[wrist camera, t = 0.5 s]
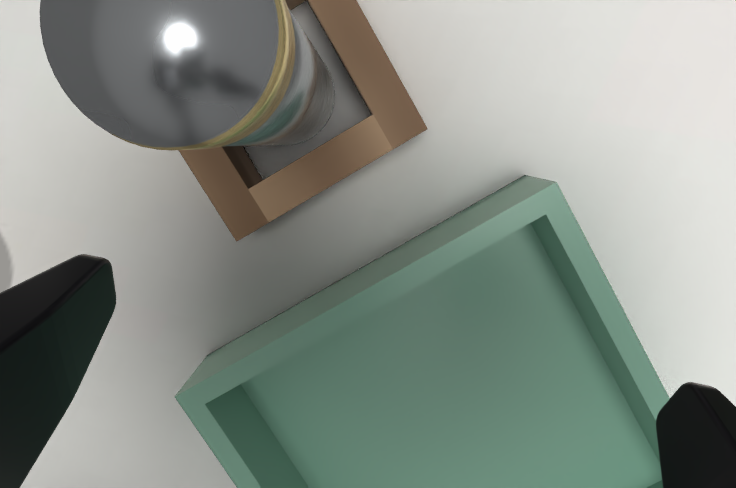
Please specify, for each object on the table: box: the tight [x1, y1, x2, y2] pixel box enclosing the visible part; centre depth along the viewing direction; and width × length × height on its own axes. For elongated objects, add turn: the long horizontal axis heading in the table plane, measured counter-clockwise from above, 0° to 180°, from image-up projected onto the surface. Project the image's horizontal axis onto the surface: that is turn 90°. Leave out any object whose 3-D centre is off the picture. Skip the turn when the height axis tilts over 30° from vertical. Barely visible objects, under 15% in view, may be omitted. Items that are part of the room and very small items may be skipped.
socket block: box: [179, 0, 427, 242], centre depth 21 cm, size 8×8×3 cm
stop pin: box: [40, 0, 335, 150], centre depth 16 cm, size 4×4×13 cm
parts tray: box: [175, 175, 670, 488], centre depth 22 cm, size 16×16×4 cm
